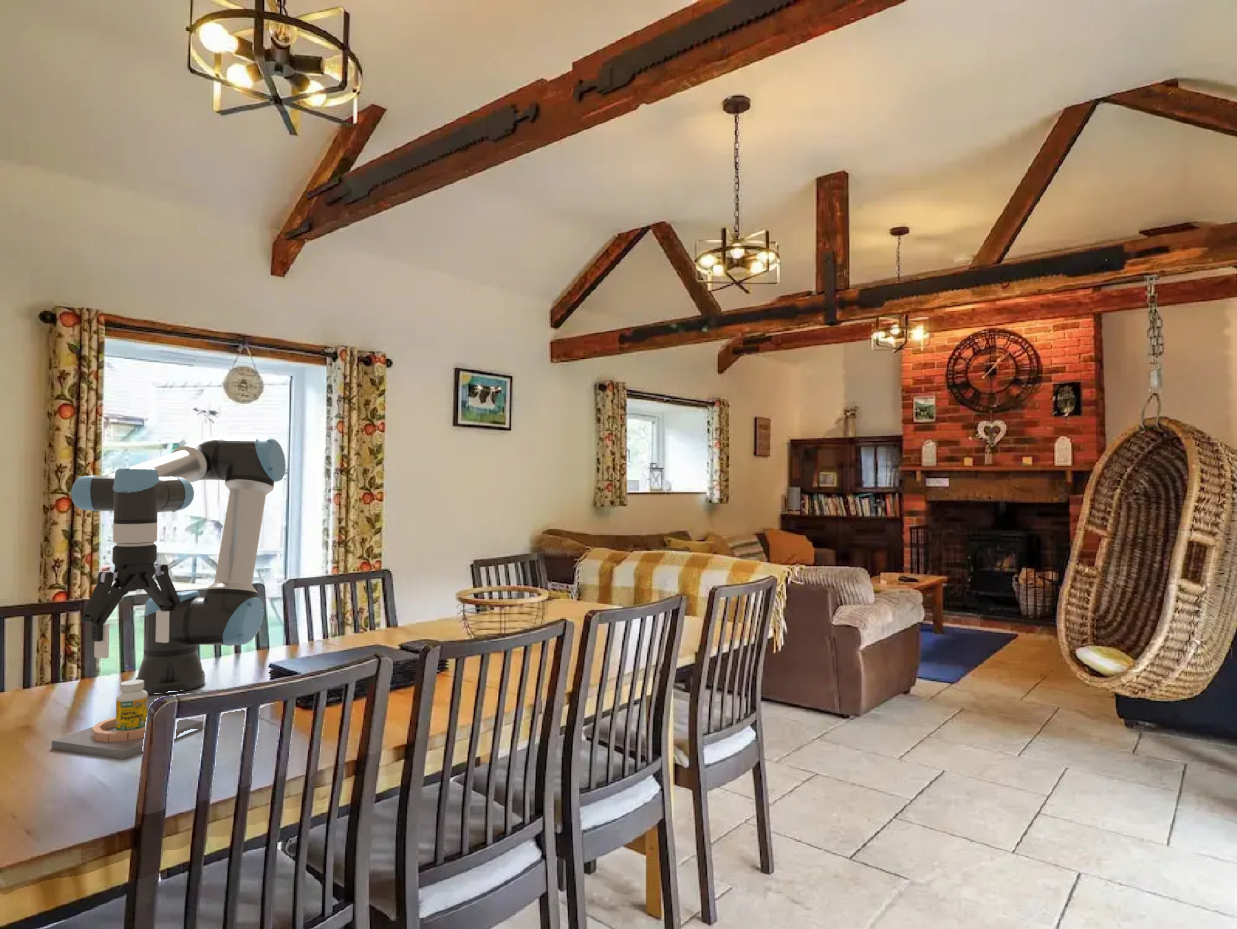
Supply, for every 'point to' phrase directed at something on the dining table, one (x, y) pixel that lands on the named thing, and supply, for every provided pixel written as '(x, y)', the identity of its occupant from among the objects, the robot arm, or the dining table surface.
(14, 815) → the dining table surface
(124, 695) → the supplement bottle
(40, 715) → the dining table surface
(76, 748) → the coaster stand
